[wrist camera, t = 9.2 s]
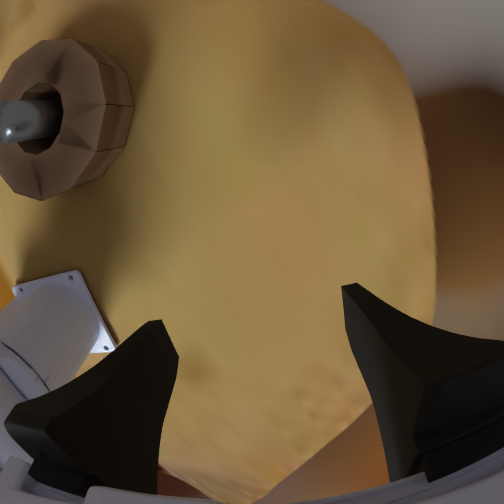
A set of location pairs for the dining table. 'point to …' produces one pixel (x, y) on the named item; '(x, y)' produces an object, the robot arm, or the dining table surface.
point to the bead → (67, 117)
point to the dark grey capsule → (29, 120)
